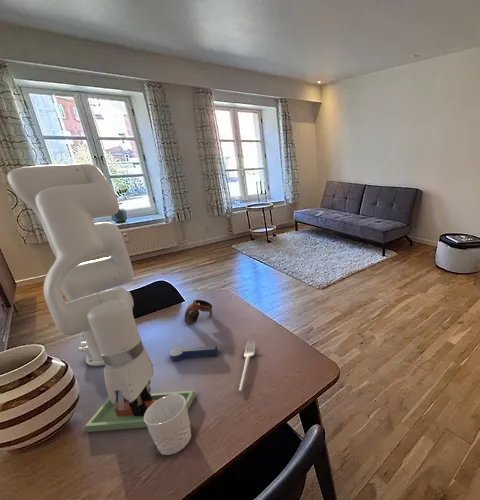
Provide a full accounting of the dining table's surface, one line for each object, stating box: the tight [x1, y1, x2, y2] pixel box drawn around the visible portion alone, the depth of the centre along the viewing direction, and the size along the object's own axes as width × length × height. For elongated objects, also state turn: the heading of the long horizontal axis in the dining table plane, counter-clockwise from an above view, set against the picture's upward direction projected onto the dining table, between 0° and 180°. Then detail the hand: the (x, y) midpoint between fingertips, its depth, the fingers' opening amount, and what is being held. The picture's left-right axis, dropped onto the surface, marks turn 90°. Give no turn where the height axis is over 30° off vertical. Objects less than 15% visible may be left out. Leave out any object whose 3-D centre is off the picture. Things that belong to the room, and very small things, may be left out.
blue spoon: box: [169, 345, 219, 362], centre depth 94 cm, size 14×4×2 cm, turn 95°
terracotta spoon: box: [114, 400, 157, 416], centre depth 74 cm, size 14×4×2 cm, turn 95°
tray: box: [84, 390, 196, 433], centre depth 74 cm, size 22×9×2 cm, turn 95°
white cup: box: [144, 394, 192, 456], centre depth 66 cm, size 8×8×10 cm
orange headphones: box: [183, 299, 213, 325], centre depth 113 cm, size 12×10×8 cm
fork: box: [238, 340, 256, 393], centre depth 89 cm, size 3×20×2 cm, turn 9°
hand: (144, 410), depth 74 cm, fingers closed on terracotta spoon, 1 cm apart
